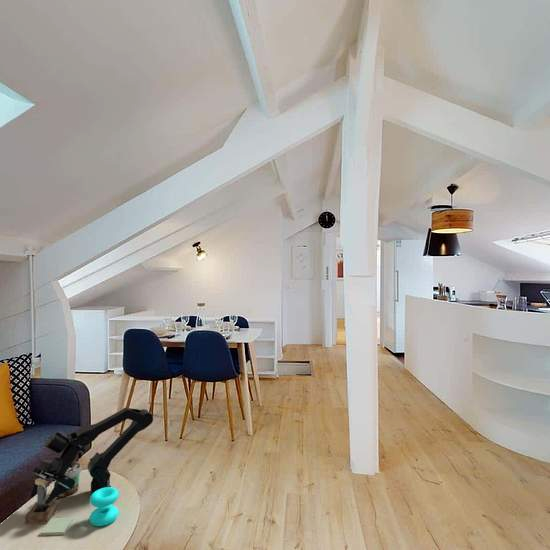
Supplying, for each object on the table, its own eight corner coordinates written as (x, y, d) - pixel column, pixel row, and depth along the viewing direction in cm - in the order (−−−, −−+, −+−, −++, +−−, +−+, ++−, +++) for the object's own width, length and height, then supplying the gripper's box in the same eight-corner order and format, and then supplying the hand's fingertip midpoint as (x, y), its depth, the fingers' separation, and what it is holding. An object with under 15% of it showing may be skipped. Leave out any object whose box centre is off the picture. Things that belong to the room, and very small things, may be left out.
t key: (32, 516, 146) (33, 480, 146) (40, 512, 149) (41, 476, 149) (42, 521, 144) (43, 484, 144) (50, 516, 146) (51, 480, 146)
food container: (67, 501, 156) (67, 477, 156) (54, 499, 157) (54, 475, 157) (87, 485, 168) (88, 462, 168) (75, 483, 169) (75, 461, 169)
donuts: (114, 500, 141) (85, 501, 140) (113, 527, 141) (85, 528, 140) (122, 485, 151) (95, 486, 150) (121, 510, 151) (95, 511, 150)
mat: (73, 520, 144) (73, 517, 144) (63, 534, 136) (63, 531, 136) (51, 521, 144) (51, 518, 144) (40, 535, 136) (40, 532, 136)
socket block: (57, 509, 151) (57, 502, 151) (47, 522, 143) (47, 514, 143) (36, 510, 150) (36, 502, 150) (24, 523, 142) (24, 515, 142)
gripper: (37, 445, 154) (8, 486, 144) (68, 455, 146) (39, 499, 136) (56, 456, 161) (29, 496, 151) (86, 467, 153) (59, 510, 143)
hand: (38, 500), depth 145 cm, fingers open, 9 cm apart
